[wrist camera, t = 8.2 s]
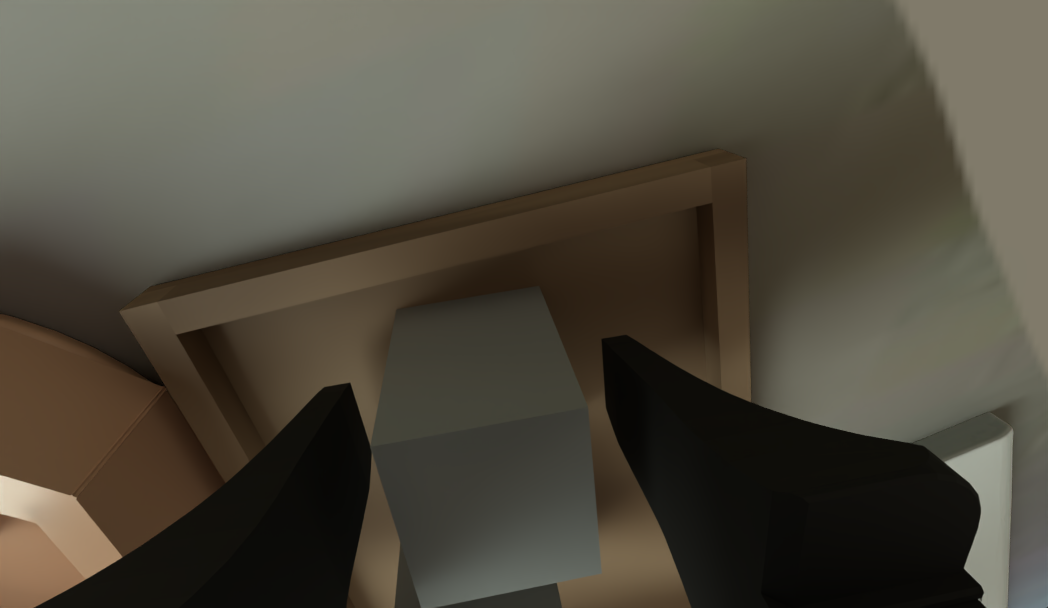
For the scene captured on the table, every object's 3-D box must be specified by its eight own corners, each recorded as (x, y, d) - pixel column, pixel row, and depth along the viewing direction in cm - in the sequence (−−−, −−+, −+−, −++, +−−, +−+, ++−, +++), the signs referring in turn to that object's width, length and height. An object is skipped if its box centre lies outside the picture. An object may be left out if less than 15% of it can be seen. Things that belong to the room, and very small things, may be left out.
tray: (738, 615, 21) (755, 649, 19) (394, 708, 20) (391, 748, 19) (718, 148, 13) (746, 158, 11) (150, 286, 12) (118, 311, 11)
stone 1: (554, 416, 15) (601, 573, 10) (429, 439, 15) (422, 610, 10) (539, 285, 13) (588, 407, 9) (396, 309, 13) (370, 447, 8)
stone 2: (529, 556, 17) (560, 735, 13) (418, 568, 17) (409, 758, 12) (530, 458, 15) (565, 625, 11) (407, 469, 15) (390, 648, 10)
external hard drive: (974, 400, 18) (979, 605, 24) (751, 493, 19) (806, 673, 24) (1020, 430, 17) (1014, 641, 22) (777, 531, 17) (829, 713, 23)
